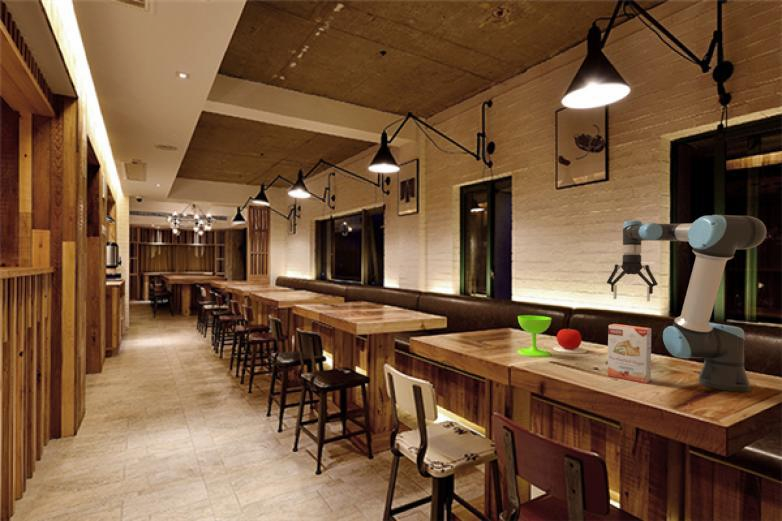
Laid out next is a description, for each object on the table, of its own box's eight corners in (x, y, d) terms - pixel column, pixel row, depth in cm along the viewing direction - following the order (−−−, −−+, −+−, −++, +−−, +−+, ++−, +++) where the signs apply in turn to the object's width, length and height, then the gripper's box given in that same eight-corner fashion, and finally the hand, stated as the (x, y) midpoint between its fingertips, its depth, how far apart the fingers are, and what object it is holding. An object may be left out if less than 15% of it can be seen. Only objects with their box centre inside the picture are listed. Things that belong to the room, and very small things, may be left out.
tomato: (585, 348, 214) (585, 328, 214) (574, 352, 206) (574, 331, 206) (564, 345, 223) (564, 325, 223) (552, 348, 215) (553, 328, 215)
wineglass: (556, 353, 206) (556, 317, 206) (542, 358, 195) (543, 320, 195) (525, 348, 217) (526, 314, 217) (511, 353, 206) (512, 317, 206)
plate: (581, 355, 203) (581, 353, 203) (548, 350, 213) (548, 348, 213) (590, 350, 215) (590, 348, 215) (558, 345, 225) (558, 344, 225)
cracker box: (607, 376, 166) (607, 324, 166) (612, 373, 170) (613, 323, 170) (646, 384, 156) (647, 329, 156) (651, 381, 160) (651, 327, 160)
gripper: (665, 254, 186) (664, 301, 186) (604, 254, 202) (603, 297, 202) (662, 254, 180) (662, 302, 180) (600, 254, 196) (599, 298, 196)
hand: (631, 300), depth 191 cm, fingers open, 13 cm apart
